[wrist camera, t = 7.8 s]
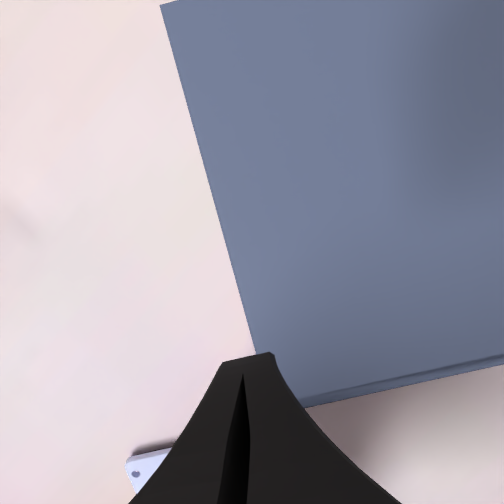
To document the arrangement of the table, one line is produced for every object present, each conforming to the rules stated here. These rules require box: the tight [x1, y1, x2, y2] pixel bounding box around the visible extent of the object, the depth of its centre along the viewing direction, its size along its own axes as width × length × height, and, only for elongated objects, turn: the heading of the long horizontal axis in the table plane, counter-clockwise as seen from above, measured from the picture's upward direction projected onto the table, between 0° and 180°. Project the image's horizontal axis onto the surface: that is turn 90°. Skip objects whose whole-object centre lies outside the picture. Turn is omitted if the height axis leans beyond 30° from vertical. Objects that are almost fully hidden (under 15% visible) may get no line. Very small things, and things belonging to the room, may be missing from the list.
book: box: [160, 0, 504, 408], centre depth 18 cm, size 18×13×3 cm
